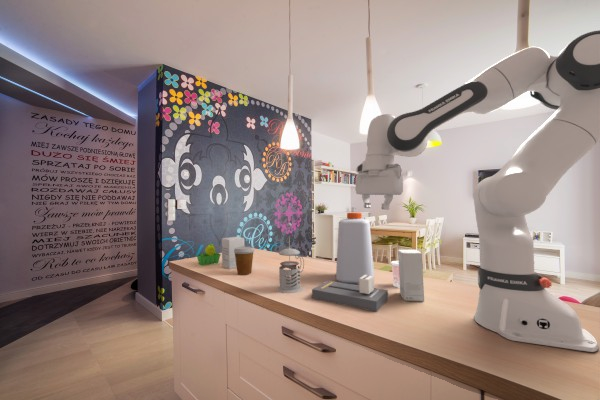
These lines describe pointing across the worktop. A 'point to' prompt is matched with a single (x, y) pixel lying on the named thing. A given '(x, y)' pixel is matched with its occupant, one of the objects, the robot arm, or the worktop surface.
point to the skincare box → (411, 275)
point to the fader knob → (366, 284)
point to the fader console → (350, 295)
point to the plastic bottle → (354, 249)
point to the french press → (290, 272)
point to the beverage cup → (395, 273)
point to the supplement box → (230, 251)
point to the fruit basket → (208, 256)
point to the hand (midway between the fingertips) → (375, 208)
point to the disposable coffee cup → (244, 259)
